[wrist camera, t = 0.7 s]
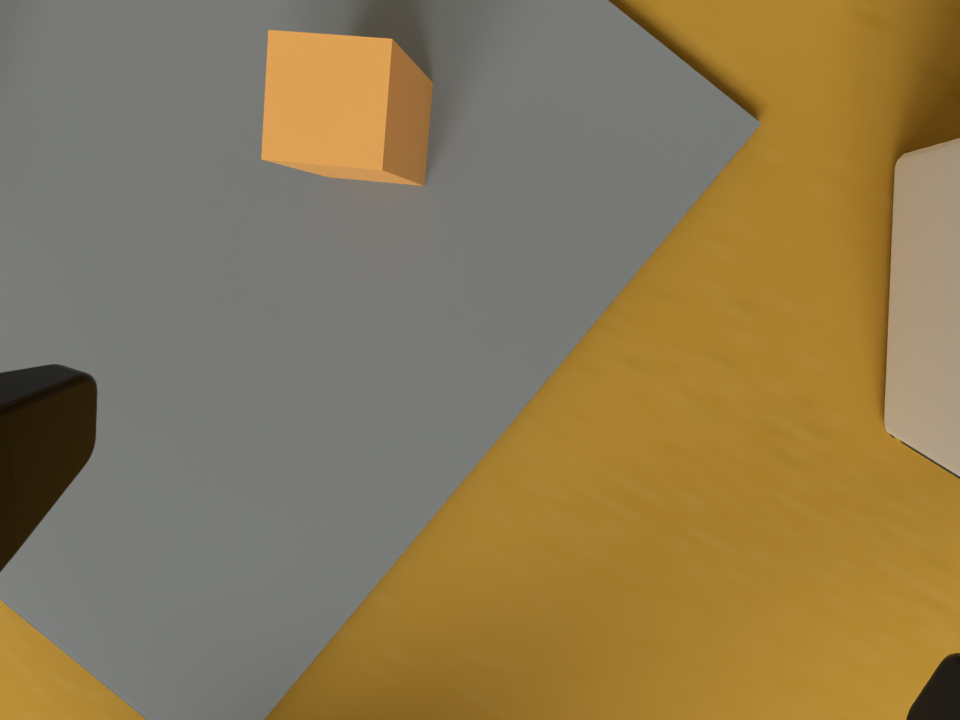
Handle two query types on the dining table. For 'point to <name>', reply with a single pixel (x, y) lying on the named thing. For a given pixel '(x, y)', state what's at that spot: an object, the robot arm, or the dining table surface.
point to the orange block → (345, 107)
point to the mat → (303, 304)
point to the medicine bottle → (925, 306)
